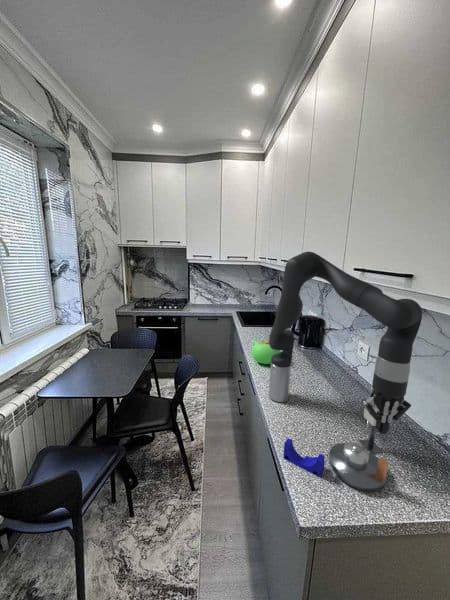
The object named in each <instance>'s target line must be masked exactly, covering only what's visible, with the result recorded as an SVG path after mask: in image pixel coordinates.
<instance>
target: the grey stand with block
mask: <svg viewBox="0 0 450 600" xmlns="http://www.w3.org/2000/svg"><path fill="white" fill-rule="evenodd" d="M373 409H374V410H375V412H376V409H375V407H374V408H373ZM363 411H364V412H363V418H365V419H366V421H367V422H366V428H365V429H366V430H365V435H368V433H369V437H368V439H358V442H359V443H360V445H362V446H363V447H365V448H366V449H367V450H368V451H370V452H371V453H372V454H383V453H384V451H383V450H382V449H381V448H380V447H379V445H377V443H375V438H376V433H377V432H376V431H377V429H376V428H375V425H376V420H375V419H374V418H373V417H372V416H371V415H370V414H369V412H368V411H367V409H366V408H365V407H364V410H363ZM369 426H370V430H369Z"/></svg>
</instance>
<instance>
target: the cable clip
mask: <svg viewBox="0 0 450 600" xmlns="http://www.w3.org/2000/svg"><path fill="white" fill-rule="evenodd" d="M283 443H284V444H283V445H284V446H283V456H282V457H283V458H282V459H284V460H286V461H287V462H289V463H291V464H293V465H295V466H297V467H299V468H301V469H303V470H305V472H306V471H307V472H309V473H310V474H312V475H315V474H316V473H317V474H316V477H318V478H321V477H322V473H323V471H324V470H325V465H326V464H325V463H326V461H325V455H324V454H322V453H319V454H318V456H315V457H313V456H307V455H305V457H303V456H302V455H301V454H299V453H298V452H297V450H296V448H295V447H294V443H293V439H291V438H289V437H288V438H287V439H286V440H285V442H283Z"/></svg>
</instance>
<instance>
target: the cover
mask: <svg viewBox="0 0 450 600" xmlns="http://www.w3.org/2000/svg"><path fill="white" fill-rule="evenodd" d="M344 443H345V445H344V451H343V460H344V462H345V463H346V464H347V465H348V466H349V467H351V468H352V469H355V470H358V471H364V470H366V469H367V467H368V460H369V452H368V451H367V449H366V448H365V447H363V446H362V444H361V443H360V444H359V443H357V442H355V441H348V442H344Z"/></svg>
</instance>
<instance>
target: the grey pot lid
mask: <svg viewBox="0 0 450 600" xmlns="http://www.w3.org/2000/svg"><path fill="white" fill-rule="evenodd" d="M345 443H346V442H341V443H337V444H334V445H332V447H331V448H329V449H330V450H329V454H328V463H329V466H330V468H331V470H332V471H333V472H334V474H335V476H337V477H338V478H339V479H340V480H342V481H343V482H344V483H346V484H347V485H349V486H351V487H352V488H356V489H358V490H361V491H365V492H377V491H380V490H381V489H383V488H384V487H385V485H386V483H387V482H386V481H387V475H388V469H389V463H390V462H389V461H388V460H386V459H385V458H383V457H380V458H378V457H377V456H376V455H375V453H371V452H370V451H368V450H367V451H368V452H369V460H368V467H367V469H366V470H364V471H358V470H355V469H352V468H351V467H349V466H348V465H347V464H346V463H345V462H344V460H343V451H344V445H345Z"/></svg>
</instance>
